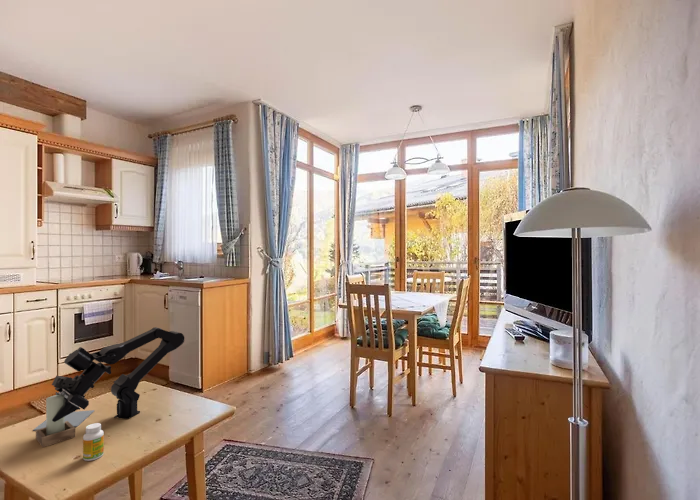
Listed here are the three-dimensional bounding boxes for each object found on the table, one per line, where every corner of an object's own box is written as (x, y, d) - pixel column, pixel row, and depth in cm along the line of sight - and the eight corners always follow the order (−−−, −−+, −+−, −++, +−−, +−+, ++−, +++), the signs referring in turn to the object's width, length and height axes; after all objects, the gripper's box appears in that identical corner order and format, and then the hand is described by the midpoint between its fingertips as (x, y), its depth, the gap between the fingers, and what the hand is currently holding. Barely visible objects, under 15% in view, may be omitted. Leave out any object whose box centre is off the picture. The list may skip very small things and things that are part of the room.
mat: (94, 411, 151) (94, 410, 151) (76, 426, 138) (76, 425, 138) (55, 414, 149) (55, 413, 149) (33, 430, 135) (33, 429, 135)
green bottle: (68, 434, 132) (68, 395, 132) (55, 442, 127) (54, 400, 127) (56, 433, 133) (56, 394, 133) (42, 440, 128) (42, 399, 128)
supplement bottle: (93, 462, 115) (93, 430, 115) (78, 460, 116) (78, 428, 116) (107, 453, 120) (107, 422, 120) (93, 451, 121) (93, 421, 121)
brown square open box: (67, 429, 136) (67, 420, 136) (75, 436, 130) (75, 428, 130) (35, 438, 129) (35, 430, 129) (42, 447, 123) (42, 438, 123)
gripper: (61, 361, 139) (22, 400, 130) (77, 371, 127) (36, 415, 118) (86, 377, 145) (51, 415, 136) (104, 388, 133) (66, 430, 124)
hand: (50, 418), depth 129 cm, fingers open, 6 cm apart
